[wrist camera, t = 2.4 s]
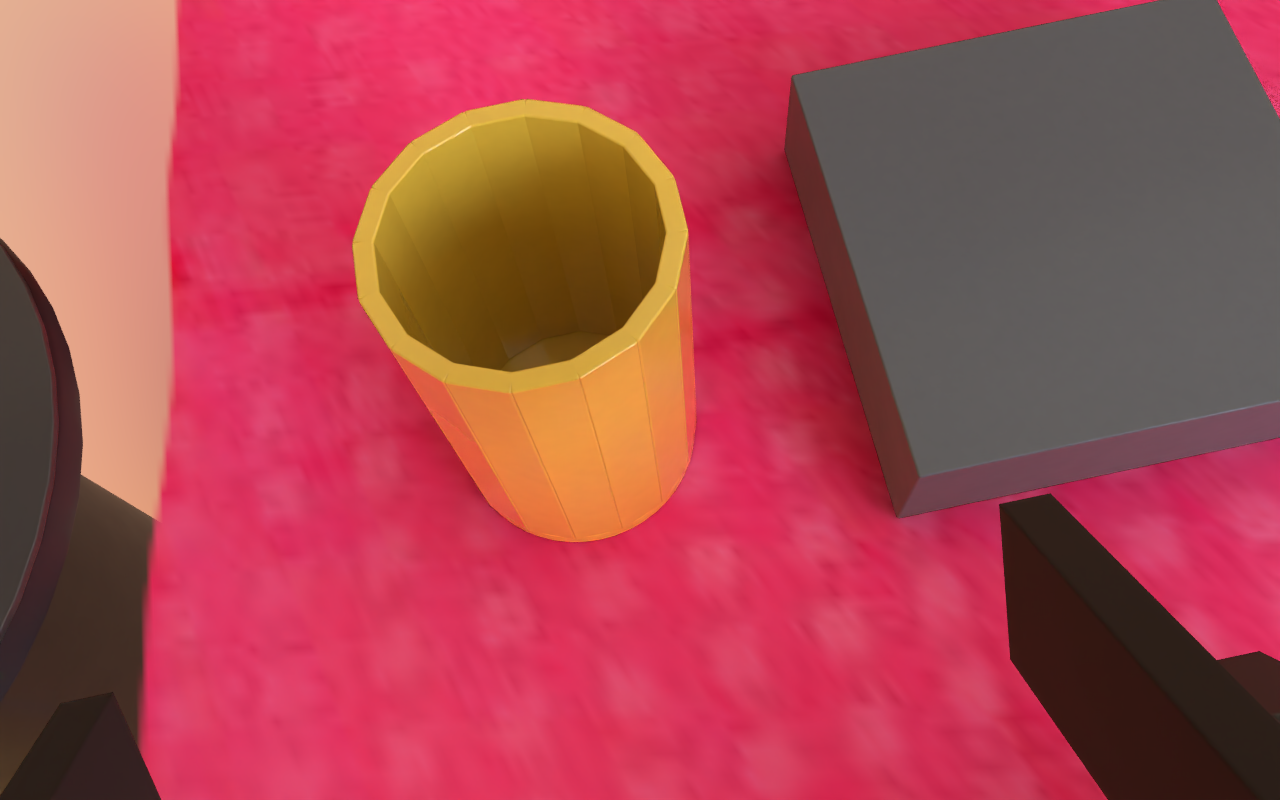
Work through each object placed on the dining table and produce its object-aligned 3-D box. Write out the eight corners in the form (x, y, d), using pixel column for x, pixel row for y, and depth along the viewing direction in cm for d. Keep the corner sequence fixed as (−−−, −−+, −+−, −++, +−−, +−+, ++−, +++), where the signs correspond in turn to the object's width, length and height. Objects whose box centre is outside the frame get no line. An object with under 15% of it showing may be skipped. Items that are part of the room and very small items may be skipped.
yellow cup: (483, 564, 34) (370, 422, 23) (452, 353, 37) (339, 135, 26) (717, 515, 34) (718, 350, 23) (668, 308, 37) (648, 72, 26)
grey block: (896, 519, 33) (918, 477, 30) (783, 148, 39) (790, 74, 35) (1339, 425, 34) (1415, 372, 30) (1165, 70, 39) (1211, -12, 36)
